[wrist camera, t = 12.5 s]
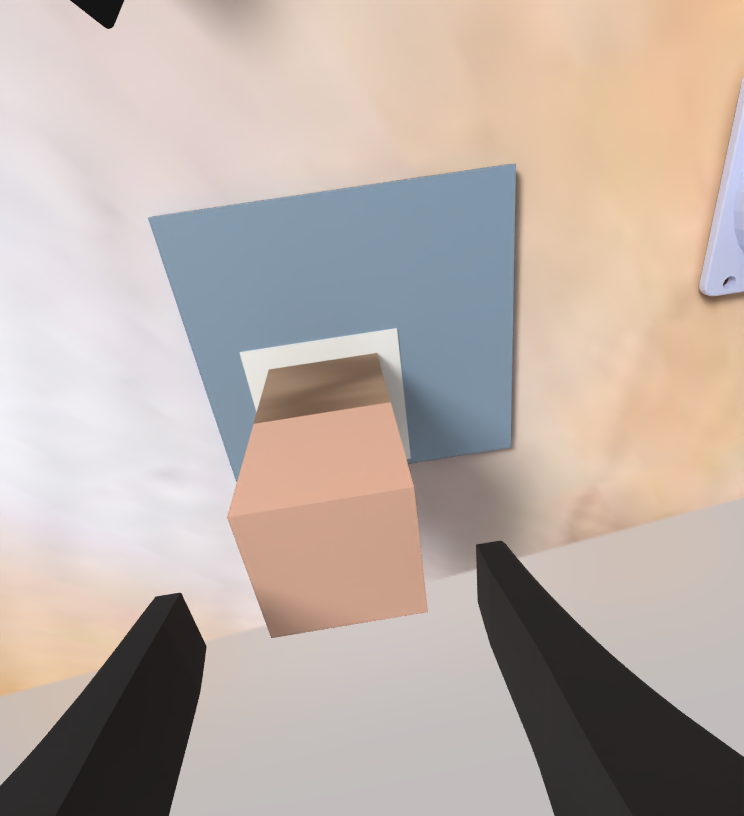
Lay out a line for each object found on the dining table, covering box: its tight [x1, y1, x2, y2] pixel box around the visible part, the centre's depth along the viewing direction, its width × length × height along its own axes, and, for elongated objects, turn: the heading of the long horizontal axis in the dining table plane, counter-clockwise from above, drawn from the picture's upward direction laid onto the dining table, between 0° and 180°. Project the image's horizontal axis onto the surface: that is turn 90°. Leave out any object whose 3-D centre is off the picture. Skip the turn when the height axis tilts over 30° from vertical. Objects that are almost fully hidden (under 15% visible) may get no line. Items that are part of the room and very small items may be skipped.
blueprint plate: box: [148, 164, 516, 482], centre depth 19 cm, size 13×12×1 cm
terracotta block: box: [227, 402, 428, 638], centre depth 14 cm, size 4×4×4 cm
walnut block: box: [253, 353, 390, 424], centre depth 18 cm, size 4×4×4 cm
